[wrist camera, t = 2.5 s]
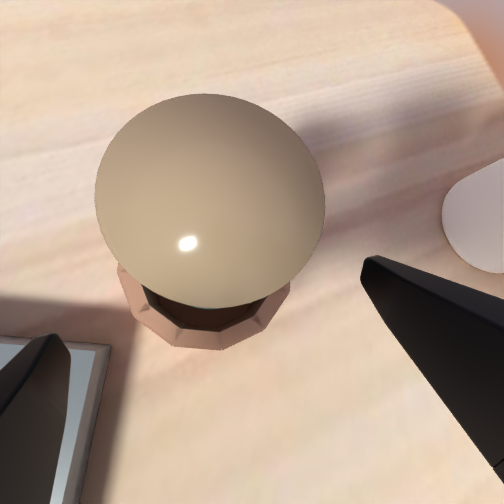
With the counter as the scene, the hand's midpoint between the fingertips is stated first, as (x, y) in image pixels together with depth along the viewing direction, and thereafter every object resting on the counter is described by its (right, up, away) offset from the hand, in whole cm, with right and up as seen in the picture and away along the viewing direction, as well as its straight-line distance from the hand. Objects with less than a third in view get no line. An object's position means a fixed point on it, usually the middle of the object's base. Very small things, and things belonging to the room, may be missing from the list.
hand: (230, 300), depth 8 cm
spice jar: (-2, 0, +9) cm, 10 cm away
